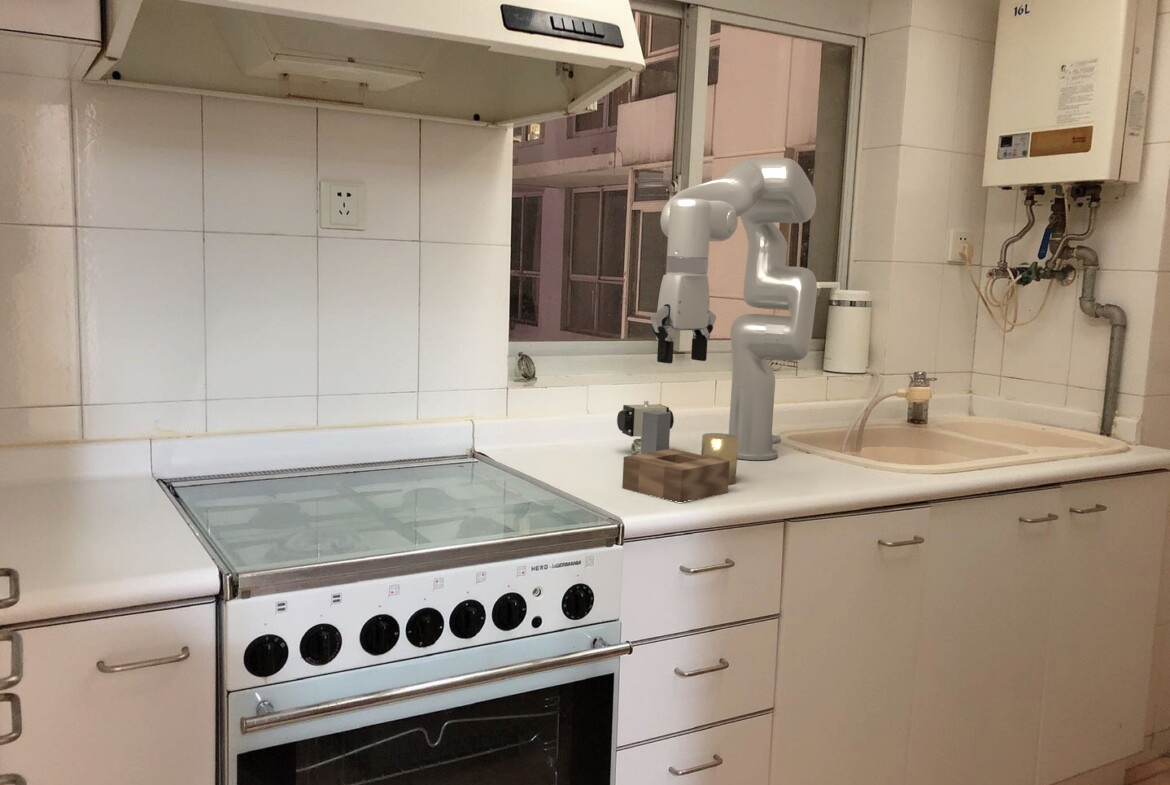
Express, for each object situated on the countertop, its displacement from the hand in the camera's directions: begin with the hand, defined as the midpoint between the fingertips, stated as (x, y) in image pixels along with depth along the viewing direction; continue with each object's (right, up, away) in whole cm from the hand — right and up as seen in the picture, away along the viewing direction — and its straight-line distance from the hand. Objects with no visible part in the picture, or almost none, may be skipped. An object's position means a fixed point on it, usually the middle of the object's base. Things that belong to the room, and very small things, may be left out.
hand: (682, 361), depth 181 cm
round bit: (+8, -23, +12) cm, 28 cm away
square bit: (-4, -22, +20) cm, 30 cm away
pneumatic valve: (-5, -20, +36) cm, 41 cm away
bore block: (-1, -24, +3) cm, 24 cm away
